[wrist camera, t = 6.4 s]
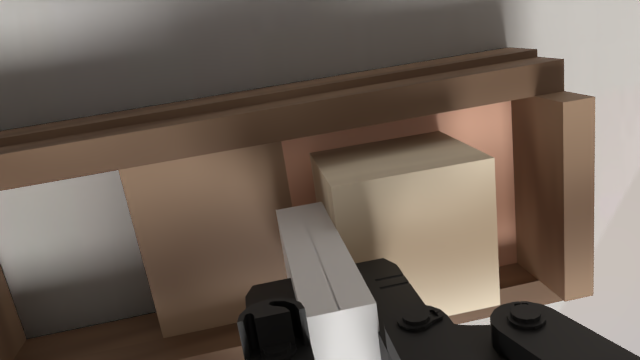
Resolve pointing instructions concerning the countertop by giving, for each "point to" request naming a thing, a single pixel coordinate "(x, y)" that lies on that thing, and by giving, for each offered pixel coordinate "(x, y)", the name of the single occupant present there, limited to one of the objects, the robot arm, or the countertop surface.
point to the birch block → (418, 213)
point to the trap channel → (309, 188)
